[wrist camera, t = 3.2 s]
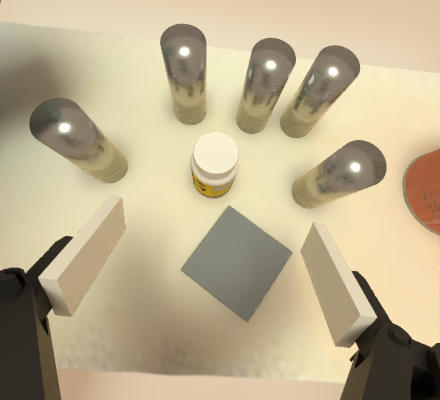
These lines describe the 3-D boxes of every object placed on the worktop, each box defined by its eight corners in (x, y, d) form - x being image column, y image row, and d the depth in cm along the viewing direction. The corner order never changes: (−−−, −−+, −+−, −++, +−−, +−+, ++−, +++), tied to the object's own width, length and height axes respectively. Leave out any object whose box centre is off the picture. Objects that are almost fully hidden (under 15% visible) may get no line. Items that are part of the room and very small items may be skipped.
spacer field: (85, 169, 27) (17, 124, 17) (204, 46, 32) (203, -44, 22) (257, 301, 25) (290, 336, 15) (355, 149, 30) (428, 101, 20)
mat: (181, 269, 25) (180, 270, 24) (228, 206, 27) (229, 205, 26) (246, 320, 24) (247, 322, 24) (290, 252, 26) (292, 252, 26)
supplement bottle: (187, 170, 28) (179, 137, 19) (222, 156, 28) (228, 118, 20) (202, 205, 27) (202, 186, 19) (238, 190, 28) (252, 165, 19)
